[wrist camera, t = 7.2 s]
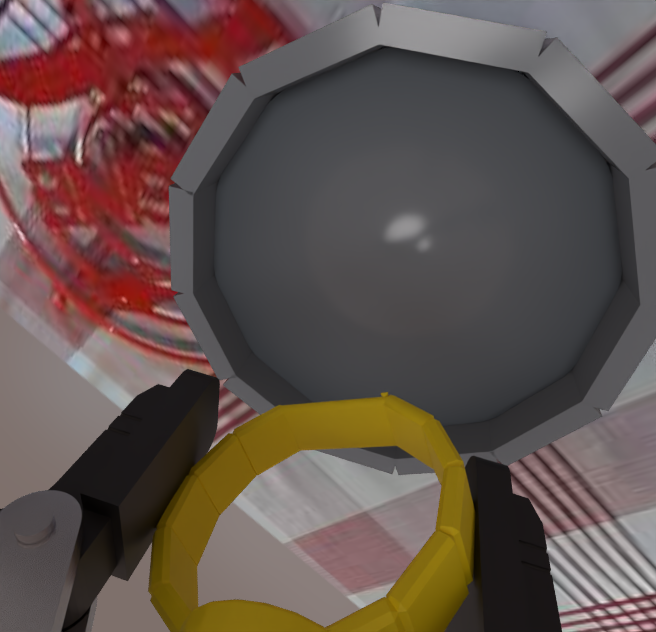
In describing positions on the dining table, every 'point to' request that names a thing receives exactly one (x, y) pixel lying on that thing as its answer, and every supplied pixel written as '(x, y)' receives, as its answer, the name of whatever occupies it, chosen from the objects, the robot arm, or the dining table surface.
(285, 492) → the dining table surface
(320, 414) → the watch
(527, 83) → the round dish
